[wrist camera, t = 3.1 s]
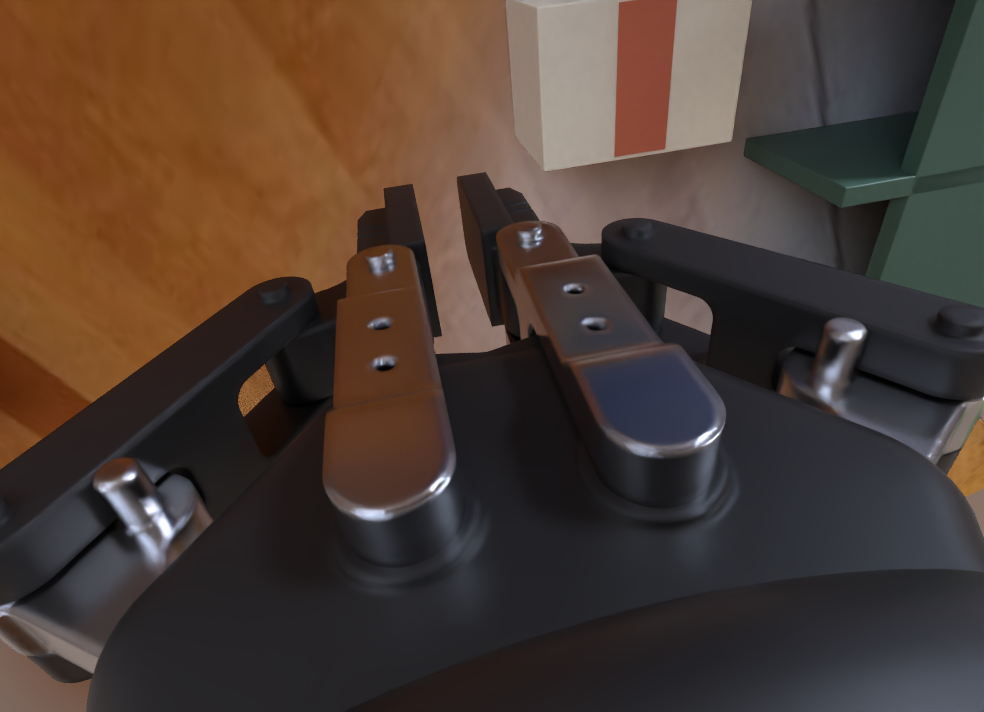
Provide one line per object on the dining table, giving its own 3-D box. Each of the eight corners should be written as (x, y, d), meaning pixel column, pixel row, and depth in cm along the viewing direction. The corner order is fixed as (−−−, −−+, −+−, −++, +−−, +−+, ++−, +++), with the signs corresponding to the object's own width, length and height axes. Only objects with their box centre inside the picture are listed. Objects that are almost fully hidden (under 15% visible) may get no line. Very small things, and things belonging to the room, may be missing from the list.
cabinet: (788, -120, 26) (938, -144, 19) (1022, -148, 27) (1243, -180, 20) (716, 320, 40) (788, 395, 34) (872, 290, 41) (973, 357, 35)
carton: (505, -4, 27) (536, 7, 22) (687, -28, 28) (757, -23, 23) (515, 137, 30) (544, 173, 26) (675, 112, 31) (732, 142, 26)
